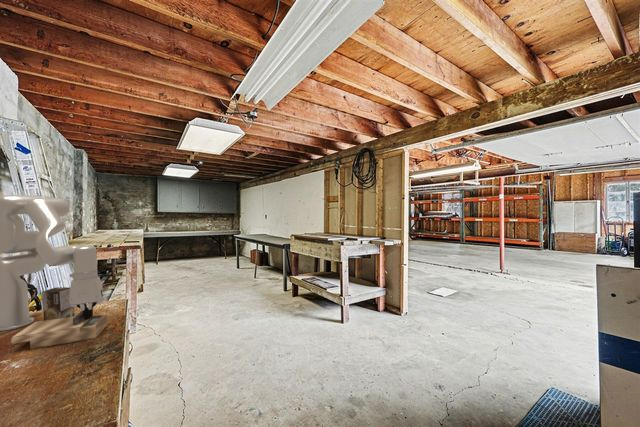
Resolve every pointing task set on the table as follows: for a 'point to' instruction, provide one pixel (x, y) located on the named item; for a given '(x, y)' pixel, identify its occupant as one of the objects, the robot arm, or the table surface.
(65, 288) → the coffee box
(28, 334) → the light brown flat piece
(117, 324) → the table surface
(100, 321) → the base
